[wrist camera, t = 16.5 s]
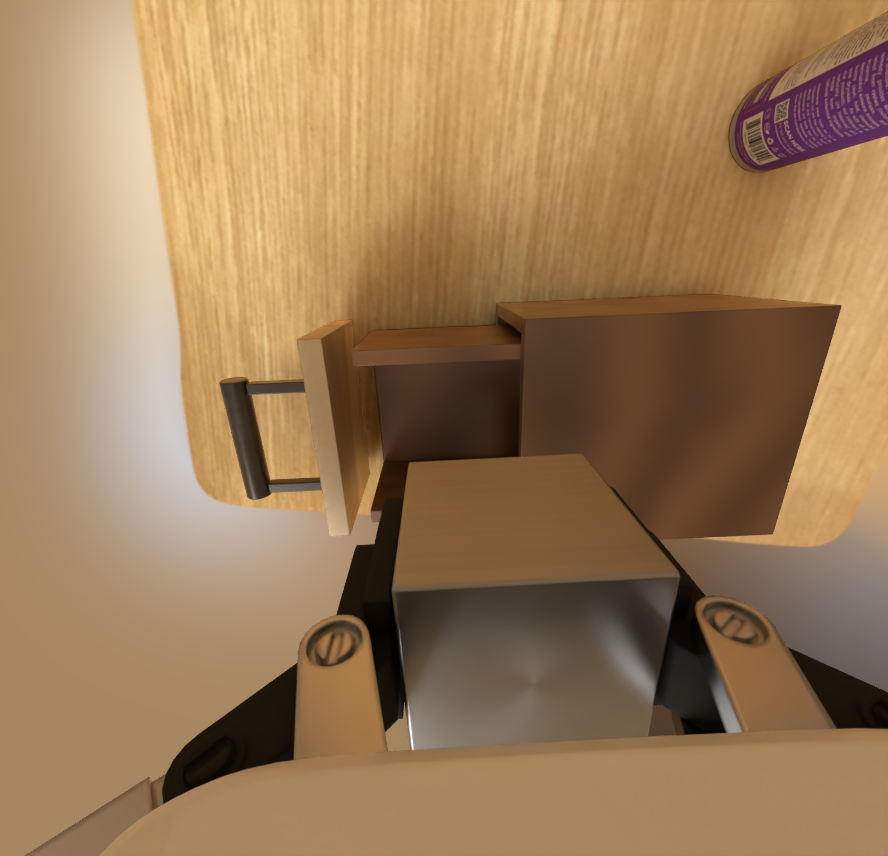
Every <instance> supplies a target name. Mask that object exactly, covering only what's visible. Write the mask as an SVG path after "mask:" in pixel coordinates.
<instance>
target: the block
mask: <svg viewBox="0 0 888 856" xmlns="http://www.w3.org/2000/svg"><path fill="white" fill-rule="evenodd" d="M679 581H680V574H679V572H678V570H677V569H676V568H675V567H674V565H673V564H672V563H671V562H670V561H669V559H668V558H667V557H666V556H665V554H664V553H663V552H662V551H661V549H660V548H659V547H658V546H657V544H656V543H655V542H654V541H653V540H652V538H651V537H650V536H649V535H648V533H647V532H646V531H645V530H644V528H643V527H642V526H641V525H640V523H639V522H638V521H637V520H636V519H635V517H634V516H633V515H632V514H631V512H630V511H629V510H628V509H627V507H626V506H625V505H624V504H623V502H622V501H621V500H620V499H619V498H618V496H617V495H616V494H615V493H614V491H613V490H612V489H611V488H610V486H609V485H608V484H607V483H606V481H605V480H604V479H603V478H602V477H601V475H600V474H599V473H598V472H597V470H596V469H595V468H594V467H593V465H592V464H591V463H590V462H589V460H588V459H587V458H586V457H585V455H584V454H564V455H544V456H525V457H505V458H485V459H465V460H446V461H426V462H411V463H409V465H408V472H407V479H406V486H405V494H404V501H403V509H402V516H401V524H400V531H399V538H398V546H397V553H396V561H395V568H394V576H393V583H392V598H393V606H394V615H395V623H396V632H397V640H398V649H399V657H400V666H401V675H402V683H403V692H404V700H405V708H406V717H407V726H408V734H409V742H410V750H420V749H437V748H453V747H470V746H487V745H504V744H522V743H540V742H559V741H577V740H596V739H615V738H634V737H648V732H649V727H650V723H651V718H652V713H653V708H654V703H655V698H656V693H657V688H658V684H659V679H660V674H661V669H662V664H663V659H664V654H665V649H666V645H667V640H668V635H669V630H670V625H671V620H672V615H673V610H674V606H675V601H676V596H677V591H678V586H679Z"/></svg>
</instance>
